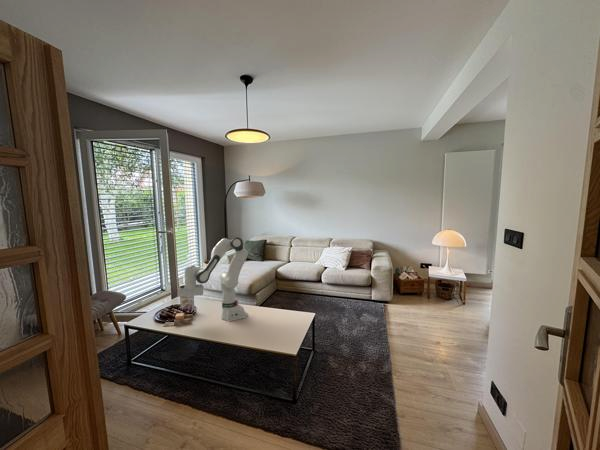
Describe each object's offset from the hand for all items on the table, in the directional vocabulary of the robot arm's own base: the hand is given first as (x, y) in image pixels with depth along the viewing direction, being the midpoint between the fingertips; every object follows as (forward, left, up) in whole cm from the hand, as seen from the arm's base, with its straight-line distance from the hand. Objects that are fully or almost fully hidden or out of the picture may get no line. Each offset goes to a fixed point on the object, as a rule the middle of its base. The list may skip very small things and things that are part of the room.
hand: (190, 300), depth 213 cm
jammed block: (+9, 0, -18) cm, 20 cm away
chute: (+10, 0, -18) cm, 21 cm away
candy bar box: (+7, -19, -18) cm, 27 cm away
